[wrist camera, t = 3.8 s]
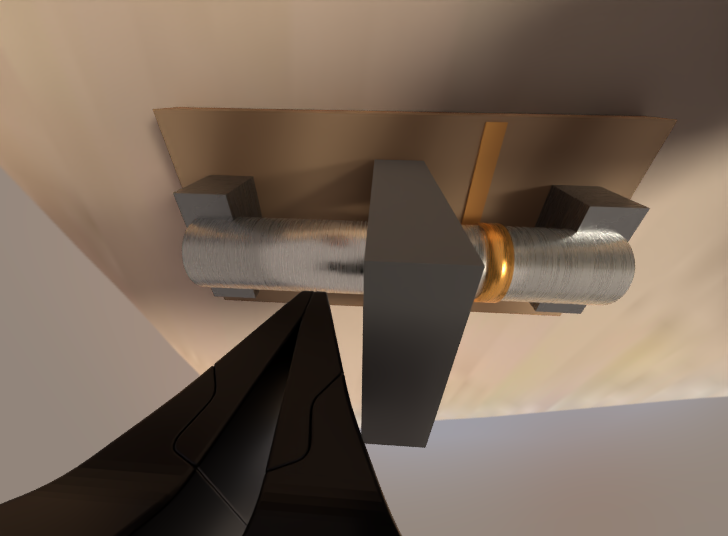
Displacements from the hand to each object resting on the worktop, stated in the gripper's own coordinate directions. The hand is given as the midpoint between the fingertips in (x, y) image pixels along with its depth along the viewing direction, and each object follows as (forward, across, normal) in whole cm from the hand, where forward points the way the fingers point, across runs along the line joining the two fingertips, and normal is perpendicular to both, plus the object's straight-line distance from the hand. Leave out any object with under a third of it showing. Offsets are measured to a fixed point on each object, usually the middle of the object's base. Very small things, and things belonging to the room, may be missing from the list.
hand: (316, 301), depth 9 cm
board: (+7, -3, 0) cm, 7 cm away
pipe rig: (+5, -3, 0) cm, 6 cm away
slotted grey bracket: (+5, -3, 0) cm, 6 cm away
